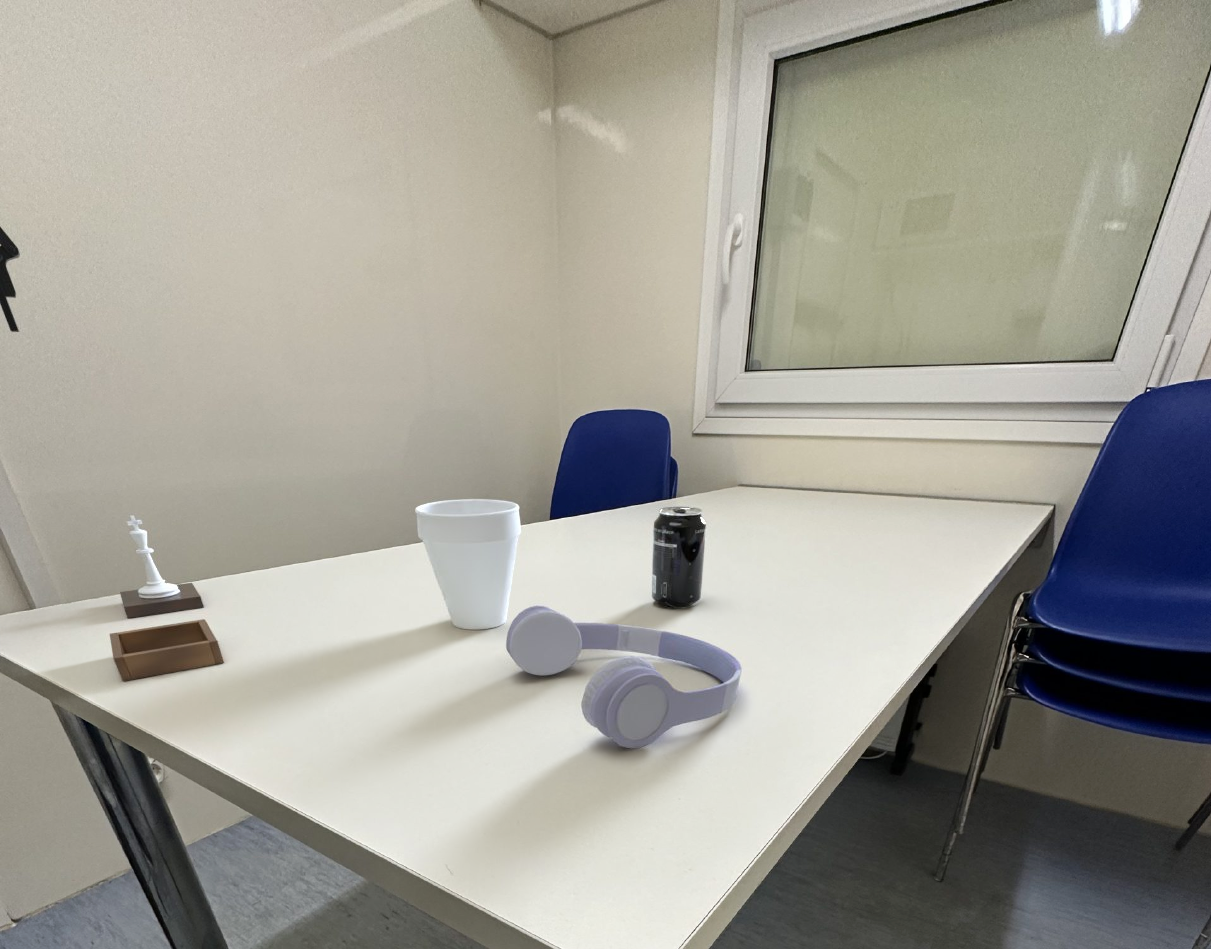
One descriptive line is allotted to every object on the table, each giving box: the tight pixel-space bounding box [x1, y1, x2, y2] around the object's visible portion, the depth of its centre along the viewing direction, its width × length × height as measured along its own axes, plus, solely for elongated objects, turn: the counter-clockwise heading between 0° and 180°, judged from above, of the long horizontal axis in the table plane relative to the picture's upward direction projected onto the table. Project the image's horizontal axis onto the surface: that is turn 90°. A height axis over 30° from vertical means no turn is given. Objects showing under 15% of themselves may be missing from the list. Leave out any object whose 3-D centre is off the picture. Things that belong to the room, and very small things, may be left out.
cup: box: [414, 498, 522, 631], centre depth 83 cm, size 12×12×14 cm
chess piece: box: [125, 515, 180, 599], centre depth 90 cm, size 5×5×10 cm
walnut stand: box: [119, 582, 205, 619], centre depth 93 cm, size 9×9×2 cm
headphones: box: [505, 605, 743, 749], centre depth 65 cm, size 22×7×20 cm
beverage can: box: [651, 506, 707, 609], centre depth 90 cm, size 7×7×12 cm
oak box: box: [109, 618, 225, 682], centre depth 74 cm, size 10×10×2 cm
